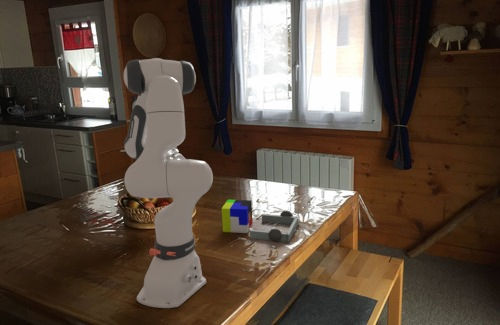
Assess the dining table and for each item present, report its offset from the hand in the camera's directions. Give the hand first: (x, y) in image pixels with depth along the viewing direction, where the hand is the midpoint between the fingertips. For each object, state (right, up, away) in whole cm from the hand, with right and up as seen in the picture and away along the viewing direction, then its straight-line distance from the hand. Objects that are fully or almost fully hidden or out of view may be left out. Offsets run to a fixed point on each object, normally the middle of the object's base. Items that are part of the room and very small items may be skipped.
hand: (186, 182), depth 175 cm
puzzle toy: (+21, -18, -2) cm, 28 cm away
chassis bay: (+36, -19, -7) cm, 41 cm away
